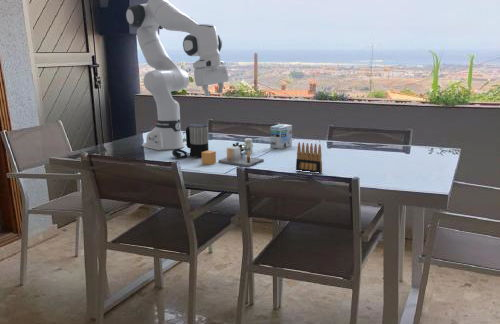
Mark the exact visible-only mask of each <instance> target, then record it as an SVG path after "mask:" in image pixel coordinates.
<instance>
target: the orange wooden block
mask: <svg viewBox="0 0 500 324" xmlns="http://www.w3.org/2000/svg"><path fill="white" fill-rule="evenodd" d="M216 154H217V152H216V151H214V150H209V151H204V152H202V157H201V164H202V165H209V166H210V165H214V164H216V163H217V155H216Z"/></svg>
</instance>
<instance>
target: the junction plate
mask: <svg viewBox="0 0 500 324" xmlns="http://www.w3.org/2000/svg"><path fill="white" fill-rule="evenodd" d="M241 153H242V152H241ZM241 153H240V147H238V146H237V147H234V146H233V145H231V146H229V147H226V157H224V158H221V159H218V163H219V164H225V165H233V166H237V167H238V166H240V167H245V168H251V167H253V166H255V165H259V164H260V163H263V162H264V161H265V160H264V158H259V157H258V158H257V157H253V156H251V153H250V152H247V153H246V156H244V155H241Z"/></svg>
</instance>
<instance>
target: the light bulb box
mask: <svg viewBox="0 0 500 324" xmlns="http://www.w3.org/2000/svg"><path fill="white" fill-rule="evenodd" d="M269 129H270V130H269V131H270V132H269V133H270V137H269V138H270V141H269V143H270V145H269V146H270V148H274V149H278V150H280V149H285V148H289V147H292V146H293V125H292V124H285V123H280V124H276V125H272V126H270V128H269Z"/></svg>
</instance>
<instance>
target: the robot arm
mask: <svg viewBox="0 0 500 324" xmlns="http://www.w3.org/2000/svg"><path fill="white" fill-rule="evenodd" d="M125 17H126V18H125V19H126V22H127V23H128V25H129V26H130V27H132V28H136V29H137V31H136V39H137V43H138V45H139V47H140V50H141V52H142V54H143V57H144V59H145V62H146V63H147V65H148V66H149V67H151V68H153V69H154V70H151V71H148V72H146V73H145V75H144V77H143V85H144V88H145V90H146V91H148V92H149V93H150V94H151V95H152V97H153V99H154V101H155V104H156V110H157V111H156V112H157V120H153V123H154V124H155V127H154V128H152V129H151V130H150V131H149V132H148V133H147V134H146V139H145V142H144V143H142V144H141V147H143V148H147V149H152V150H155V151H163V150H174V149H181V148H184V147H185V143H184V139H183V135H182V134H183V133H182V120H181V119H182V118H181V113H180V111H181V109H180V107H181V106H180V103H179V102H178V101H177V100H176V99H174V98H173V95H172V92H179V91H181V90H185V89H186V88H188V86H189V84H190V75H189V74H188V72H187V71H186V70H184V69H183V68H181V67H180V66H178V64H176V63H175V62H174V60H173V59H172V58H171V56H170V55H169V54H168V52H167V49H166V48H165V46H164V43H163V41H162V39H161V37H160V35H159V30H163V29H164V30H166V31H173V32H181V33H182V32H183V33H187V35H185V37H184V39H183V41H182V48H183V51H184V52H185V54H187V56H189V57H199V59H198V60H196V61H194V62H193V63H192V67H193V69H194V71H193V75H194V76H193V77H194V82H195V85H196V87H202V90H203V92H204V96H205V97H209V96H211V91H210V90H209V85H216V84H217V85H218V89H217V93H218V94H223V93H224V91H223V88H224V85H225V84H224V83H228V81H229V73H228V69H227V66H226V64H225V62H224V61H223V60H221V54H220V52H221V50H222V46H223V41H222V38H221V37H220V35H219V34H218V31H217V27H216V26H215V25H214V24H211V23H199V22H198V21H197V20H195V19H194V18H192V16H189V15H187V14H186V13H184V12H183V11H181V10H180V9H179V8H177V7H176V6H175V5H174V4H173V3H172V2H171V1H169V0H147V2H146V3H140V4H137V3H136V4H132V5H129V6H128V7H127V9H126V11H125Z"/></svg>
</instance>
